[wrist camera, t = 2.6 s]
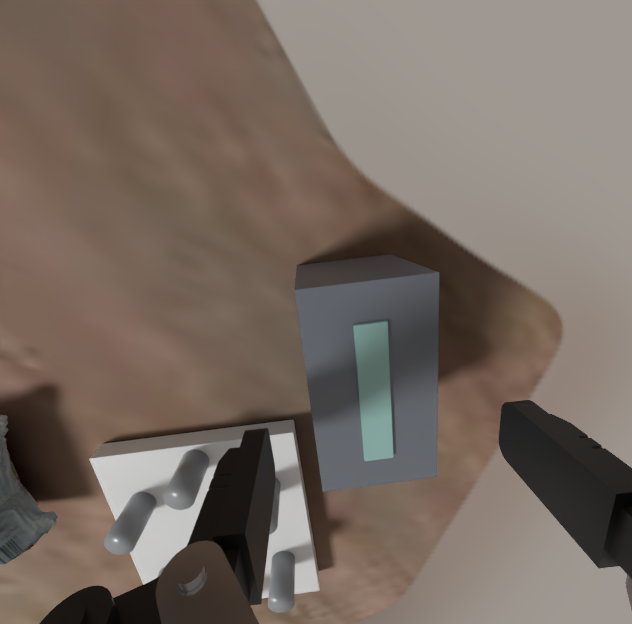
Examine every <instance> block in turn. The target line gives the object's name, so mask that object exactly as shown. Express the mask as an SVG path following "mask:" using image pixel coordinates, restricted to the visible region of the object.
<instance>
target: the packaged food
mask: <svg viewBox="0 0 632 624" xmlns="http://www.w3.org/2000/svg"><path fill="white" fill-rule="evenodd" d="M6 420H7V416H5V415H0V566H1V565H4V564H6V563H7V562H9V561H11V560H13V559H14V558H16V557H17V556H19V555H20V554H22V553H23V552H25V551H27V550H29V549H30V548H31V547H32V546H34V545H35V544H36V542H37V541H38V540H39V539H40V537H41V536H42V535H43V534H44V533H48V531H49V530H50V529H51V528H52V527H53V526H54V525H55V524H56V519H57V518H58V516H57V515H56V514H55V513H54V512H42V511H41V510H40V509H39V508H38V507H37V505H38V501H35V500H34V498H33V497H32V496H31V494H30V493H29V492H28V491H27V490H26V489H25V487H24V486H23V485H22V484H21V483H20V478H19V476H18V474H17V472H16V470H15V468H14V466H13V464H12V462H11V460H10V456H9V453H8V450H7V445H6V439H5V438H4V436H5V435H6V433H7V431H8V429H7V428H6V425H7V424H8V422H7V421H6Z"/></svg>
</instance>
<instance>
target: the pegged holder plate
mask: <svg viewBox="0 0 632 624" xmlns="http://www.w3.org/2000/svg"><path fill="white" fill-rule="evenodd" d="M262 428H268V430H269V435H270V440H271V446H272V452H273V458H274V463H275V491H274V499H273V508H272V516H271V525H270V533H269V541H268V550H267V558H266V567H265V575H264V584H263V592H262V598H268V607H269V609H270V610H272V611H274V612H277V613H283V612H287V611H289V610H291V609H292V608H293V606H294V594H298V593H306V592H313V591H320V590H319V571H318V565H317V559H316V553H315V547H314V540H313V534H312V528H311V522H310V516H309V510H308V504H307V498H306V492H305V486H304V479H303V473H302V467H301V461H300V455H299V449H298V443H297V437H296V431H295V425H294V419H292V420H284V421H277V422H269V423H261V424H253V425H245V426H238V427H230V428H222V429H214V430H206V431H199V432H191V433H183V434H175V435H167V436H160V437H152V438H144V439H136V440H128V441H120V442H113V443H105V444H102V445H101V446H100V447H99V448H98V449H97V450H96V452H95V453H94V454H93V455H92V456H91V457H90V458H89V460H90V462H91V464H92V467H93V469H94V471H95V474H96V476H97V478H98V480H99V483H100V485H101V487H102V490H103V492H104V494H105V497H106V499H107V501H108V504H109V506H110V508H111V511H112V513H113V515H114V517H115V520H116V522H115V523H114V525H113V527H112V528H111V530H110V532H109V533H108V535H107V536H106V538H105V540H104V545H105V547H106V549H107V550H109V551H110V552H112V553H114V554H120V555H123V554H128V553H130V555H131V557H132V559H133V561H134V564H135V566H136V568H137V571H138V573H139V575H140V578H141V580H142V582H143V585H144V584H146V583H148V582H150V581H152V580H154V579H156V578H157V577H159V576H160V575H161V573H162V571H163V569H164V568H165V566H166V565H167V563H168V562H169V561H170V560H171V559H172V558H173V557H174V556H175V555H176V554H177V553H178V552H179V551H181V550H182V549H183V548H185V547H186V546H187V544H188V542H189V539H190V537H191V534H192V531H193V529H194V526H195V523H196V520H197V518H198V515H199V512H200V510H201V507H202V504H203V502H204V499H205V496H206V494H207V491H209V486H210V483H211V480H212V479H213V475H214V472H215V470H216V467H217V464H218V461H219V460H220V459H221V458H222V457H223V455H224V454H225V453H226V452H227V451H228V449H229V448H237V447H240V444H241V441H242V438H243V435H244V432H245V430H253V429H262Z"/></svg>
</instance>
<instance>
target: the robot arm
mask: <svg viewBox="0 0 632 624" xmlns="http://www.w3.org/2000/svg"><path fill="white" fill-rule="evenodd" d="M499 446H500V450H501V452H502V454H503V456H504V458H505V460H506V461H507V462H508V463H509V464H510V466H511V467H512V468H513V469H514V470H515V471H516V472H517V474H518V475H519V476H520V477H521V478H522V480H523V481H524V482H525V483H526V484H527V485H528V487H529V488H530V489H531V490H532V491H533V492H534V494H535V495H536V496H537V497H538V498H539V499H540V501H541V502H542V503H543V504H544V505H545V506H546V507H547V509H548V510H549V511H550V512H551V513H552V514H553V516H554V517H555V518H556V519H557V520H558V521H559V523H560V524H561V525H562V526H563V527H564V528H565V530H566V531H567V532H568V533H569V534H570V535H571V537H572V538H573V539H574V540H575V541H576V542H577V544H578V545H579V546H580V547H581V548H582V549H583V551H584V552H585V553H586V554H587V555H588V556H589V557H590V559H591V560H592V561H593V562H594V563H595V564H596V566H597V567H598V568H605V567H614V566H620V567H621V568H622V569H623V570H624V571H625V572H626V573H627V578H626V588H627V592H628V597H629V601H630V605H631V610H632V468H631V467H629V466H628V465H627V464H625V463H624V462H623V461H621V460H620V459H619V458H617V457H616V456H615V455H613V454H612V453H610V452H609V451H608V450H606V449H603V448H602V447H601V445H600V444H598V443H597V442H595V441H594V440H593V439H592V438H588V436H587V435H586V434H585V433H583V432H582V431H581V430H579V429H578V428H577V427H575V426H574V425H572V424H571V423H569V422H567V421H565V420H563V419H561V418H559V417H556V416H554V415H552V414H548V413H547V412H546V411H544V410H543V409H542V408H540V407H539V406H538V405H536V404H535V403H534V402H532V401H530V400H524V401H515V402H506V403H504V404H503V405H502V409H501V421H500V432H499ZM274 491H275V463H274V458H273V452H272V446H271V440H270V435H269V430H268V428H262V429H253V430H245V432H244V435H243V438H242V441H241V444H240V447H237V448H229V449H228V451H227V452H226V453H225V454H224V455H223V457H222V458H221V459H220V460H219V461H218V464H217V467H216V470H215V472H214V475H213V479H212V480H211V483H210V486H209V491H207V494H206V496H205V499H204V502H203V504H202V507H201V510H200V512H199V515H198V518H197V520H196V523H195V526H194V529H193V531H192V534H191V537H190V539H189V542H188V544H187V546H186V547H185V548H183V549H182V550H181V551H179V552H178V553H177V554H176V555H175V556H174V557H173V558H172V559H171V560H170V561H169V562H168V563H167V565H166V566H165V568H164V569H163V571H162V573H161V575H160V576H159V577H157V578H156V579H154V580H152V581H150V582H148V583H146V584H144V585H142V586H139V587H137V588H135V589H133V590H131V591H128V592H126V593H124V594H122V595H120V596H117V597H115V598H112V596H111V593H110V591H109V590H108V589H107V588H105V587H103V586H91V587H87V588H84V589H82V590H80V591H78V592H76V593H74V594H72V595H71V596H69V597H68V598H66V599H65V600H63V601H62V602H61V603H60V604H58V605H57V606H56V607H55V608H54V609H53V610H52V611H51V612H50V613H49V614H48V615H47V616H46V617H45V618H44V619H43V620H42V621H41V623H40V624H259V623H258V621H257V619H256V617H255V615H254V613H253V611H252V609H251V607H250V605H257V604H261V600H262V592H263V584H264V575H265V567H266V558H267V550H268V541H269V533H270V525H271V516H272V508H273V499H274Z"/></svg>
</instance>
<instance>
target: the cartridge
mask: <svg viewBox="0 0 632 624" xmlns="http://www.w3.org/2000/svg"><path fill="white" fill-rule="evenodd" d="M295 297H296V304H297V311H298V319H299V326H300V333H301V340H302V347H303V354H304V361H305V369H306V376H307V383H308V390H309V397H310V404H311V411H312V419H313V426H314V433H315V440H316V447H317V454H318V462H319V469H320V476H321V483H322V490H323V492H326V491H333V490H341V489H349V488H356V487H364V486H372V485H380V484H387V483H395V482H403V481H411V480H418V479H426V478H434V477H437V432H438V346H439V272H437V271H434V270H432V269H429V268H426V267H424V266H421V265H418V264H415V263H413V262H410V261H407V260H405V259H402V258H399V257H396V256H394V255H391V254H387V255H379V256H371V257H362V258H354V259H346V260H338V261H329V262H321V263H313V264H305V265H297V272H296V281H295Z"/></svg>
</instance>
